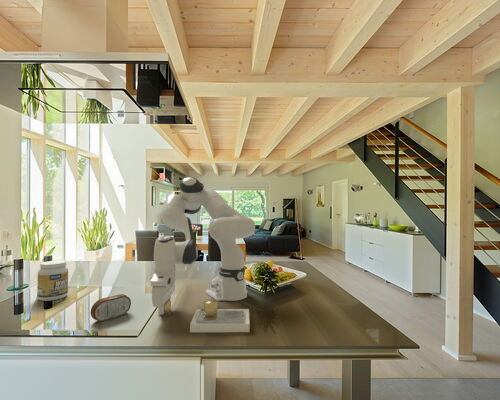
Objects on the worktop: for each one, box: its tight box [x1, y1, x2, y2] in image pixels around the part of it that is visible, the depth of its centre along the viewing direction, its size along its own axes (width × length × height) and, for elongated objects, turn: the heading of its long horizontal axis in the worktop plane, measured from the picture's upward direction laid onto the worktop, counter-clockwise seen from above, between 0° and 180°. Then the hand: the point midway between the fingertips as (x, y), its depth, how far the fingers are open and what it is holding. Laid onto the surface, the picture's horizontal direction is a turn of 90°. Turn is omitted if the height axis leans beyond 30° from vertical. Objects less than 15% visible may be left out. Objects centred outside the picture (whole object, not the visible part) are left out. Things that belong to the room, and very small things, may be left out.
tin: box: [90, 293, 132, 322], centre depth 113 cm, size 15×3×8 cm, turn 141°
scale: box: [189, 308, 250, 333], centre depth 107 cm, size 21×14×4 cm, turn 91°
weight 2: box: [203, 298, 219, 318], centre depth 105 cm, size 5×5×5 cm
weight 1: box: [157, 299, 172, 318], centre depth 117 cm, size 5×5×5 cm
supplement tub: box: [36, 259, 69, 302], centre depth 137 cm, size 12×12×17 cm
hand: (164, 309), depth 117 cm, fingers open, 6 cm apart
